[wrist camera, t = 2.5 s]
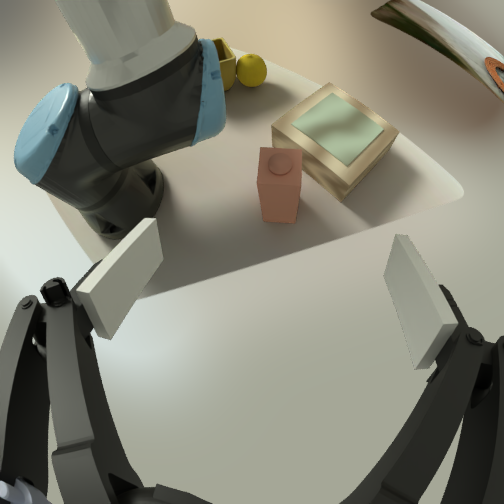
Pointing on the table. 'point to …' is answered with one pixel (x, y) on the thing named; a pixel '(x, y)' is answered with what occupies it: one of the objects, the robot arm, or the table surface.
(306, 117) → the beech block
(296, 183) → the pink knobbed block
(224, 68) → the flower pot
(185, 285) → the table surface
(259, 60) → the lemon
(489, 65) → the ring
